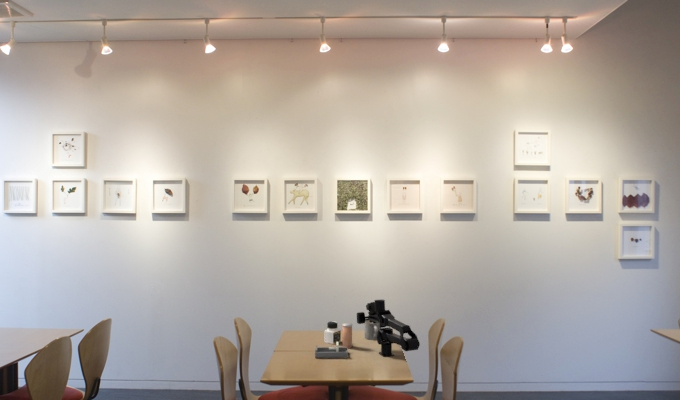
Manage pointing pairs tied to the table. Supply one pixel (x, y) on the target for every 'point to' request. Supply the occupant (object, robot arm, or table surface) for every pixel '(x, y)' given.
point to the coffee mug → (371, 330)
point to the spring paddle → (335, 347)
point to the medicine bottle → (332, 333)
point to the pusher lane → (330, 352)
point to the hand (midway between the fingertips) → (365, 315)
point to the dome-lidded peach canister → (347, 335)
